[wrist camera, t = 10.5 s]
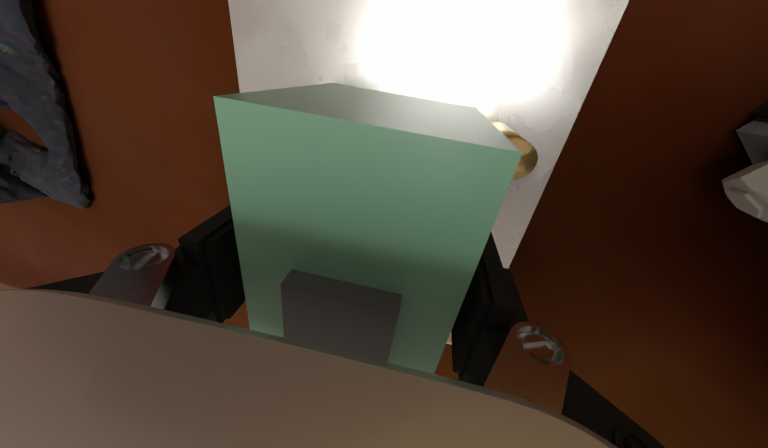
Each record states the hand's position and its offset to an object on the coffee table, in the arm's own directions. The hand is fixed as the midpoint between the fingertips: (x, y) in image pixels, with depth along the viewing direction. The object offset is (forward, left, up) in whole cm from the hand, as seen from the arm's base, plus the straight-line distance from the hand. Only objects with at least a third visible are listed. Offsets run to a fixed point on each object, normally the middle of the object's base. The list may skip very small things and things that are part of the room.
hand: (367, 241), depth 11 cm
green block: (0, 0, -4) cm, 4 cm away
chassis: (0, 0, -5) cm, 5 cm away
